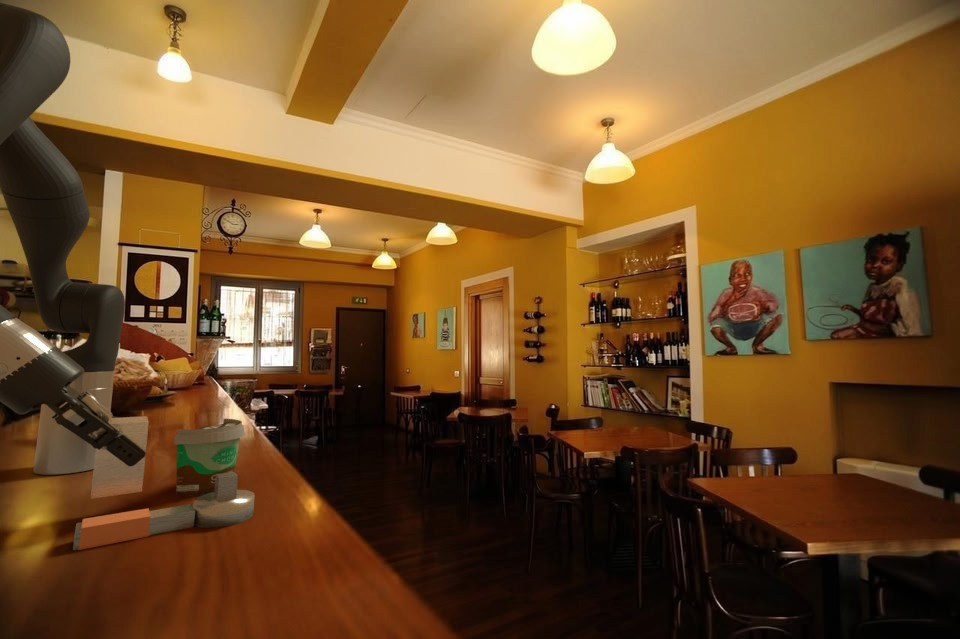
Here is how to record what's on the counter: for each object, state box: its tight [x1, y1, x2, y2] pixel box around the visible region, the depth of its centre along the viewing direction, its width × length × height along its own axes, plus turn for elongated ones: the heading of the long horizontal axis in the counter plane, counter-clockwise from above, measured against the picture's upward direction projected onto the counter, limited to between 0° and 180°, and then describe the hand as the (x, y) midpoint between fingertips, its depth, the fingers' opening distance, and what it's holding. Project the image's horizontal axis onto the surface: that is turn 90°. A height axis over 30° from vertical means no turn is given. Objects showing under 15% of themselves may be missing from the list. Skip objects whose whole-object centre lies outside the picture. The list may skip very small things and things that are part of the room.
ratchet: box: [72, 471, 256, 551], centre depth 54 cm, size 7×18×6 cm, turn 131°
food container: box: [173, 418, 246, 498], centre depth 69 cm, size 12×6×10 cm, turn 179°
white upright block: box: [90, 416, 150, 500], centre depth 57 cm, size 5×5×9 cm
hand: (138, 455), depth 58 cm, fingers closed on white upright block, 5 cm apart
